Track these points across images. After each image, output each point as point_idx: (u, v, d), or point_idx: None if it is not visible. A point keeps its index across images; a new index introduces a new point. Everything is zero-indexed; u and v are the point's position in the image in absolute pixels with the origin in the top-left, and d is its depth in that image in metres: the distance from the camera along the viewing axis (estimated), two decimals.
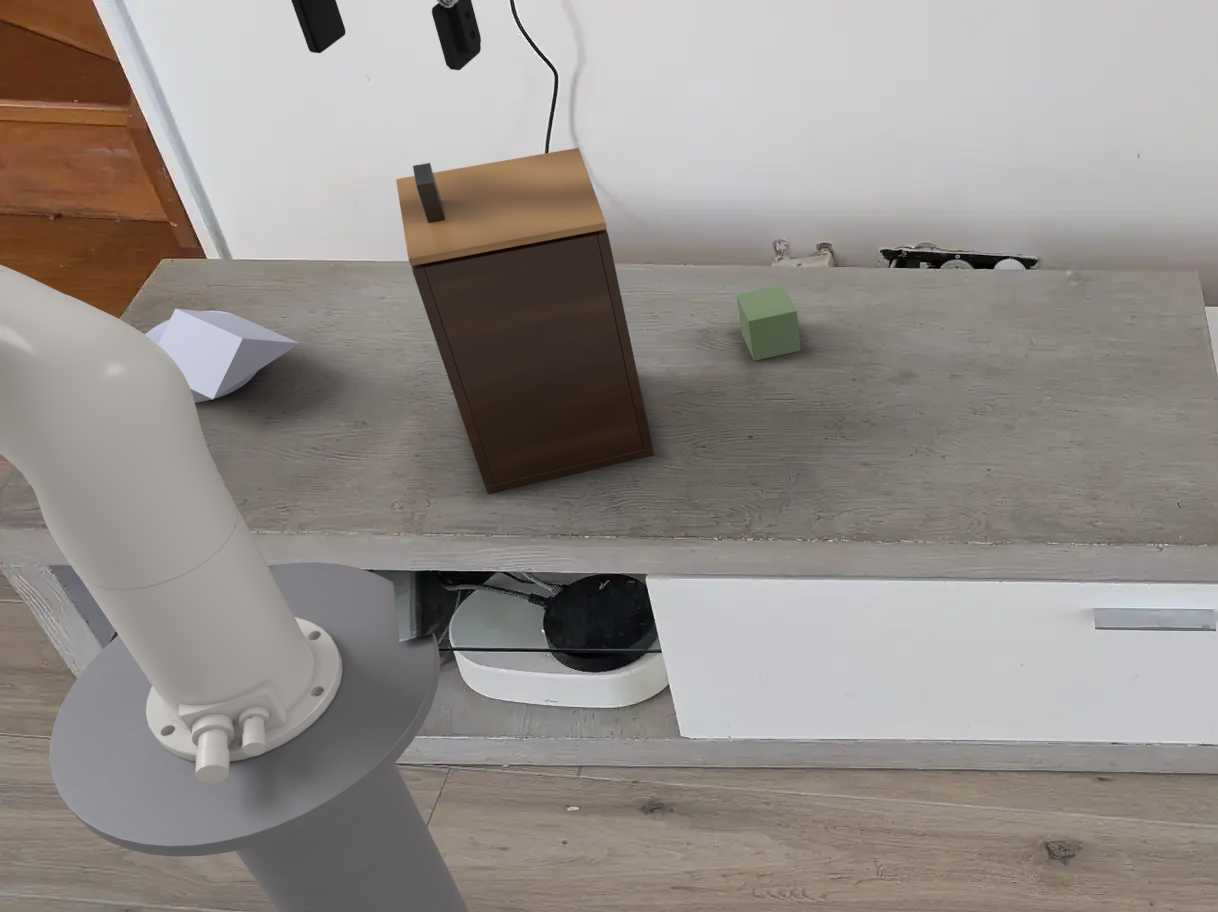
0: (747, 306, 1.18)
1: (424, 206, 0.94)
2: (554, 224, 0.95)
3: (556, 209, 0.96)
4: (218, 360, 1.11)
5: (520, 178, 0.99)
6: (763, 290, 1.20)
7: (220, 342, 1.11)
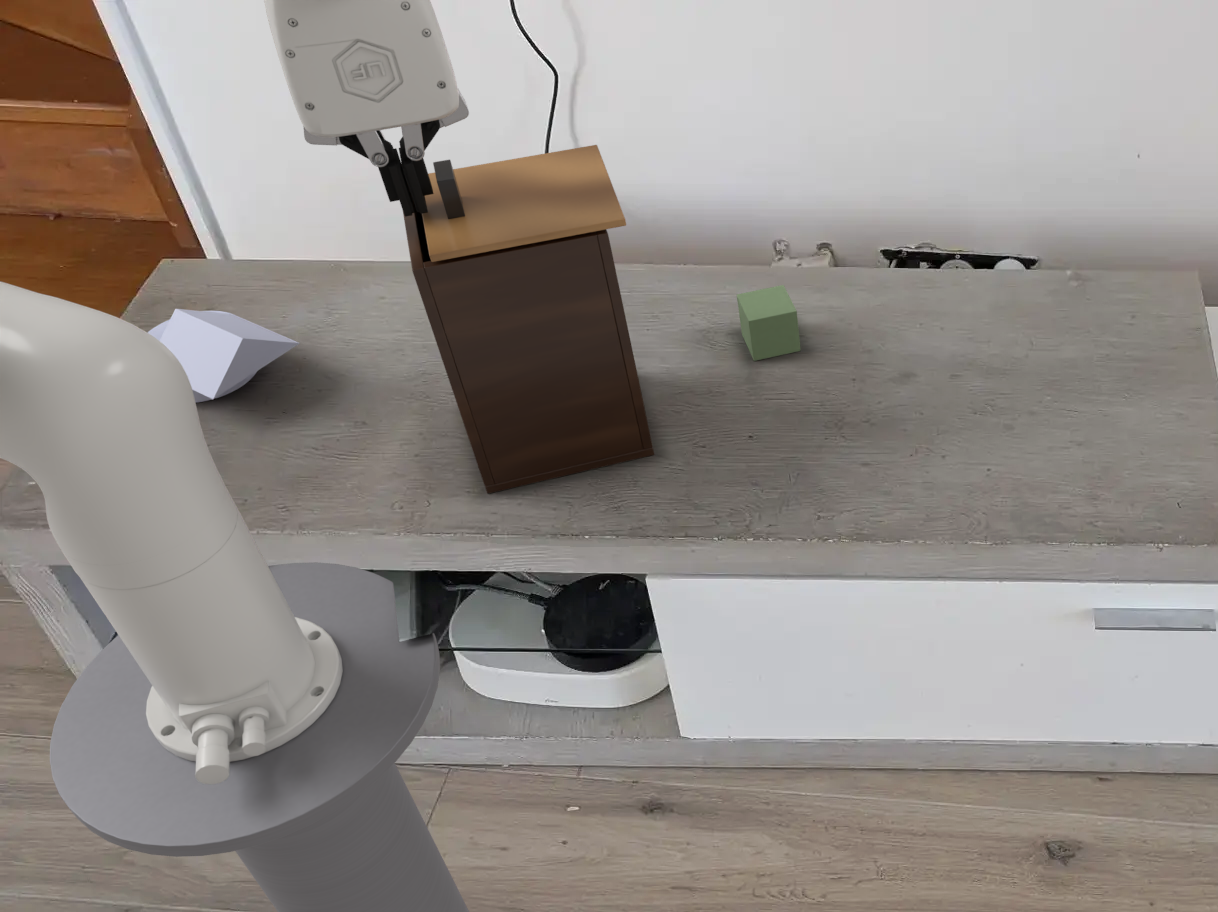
0: (747, 306, 1.18)
1: (444, 202, 0.94)
2: (574, 220, 0.95)
3: (575, 205, 0.97)
4: (218, 360, 1.11)
5: (539, 175, 1.00)
6: (763, 290, 1.20)
7: (220, 342, 1.11)
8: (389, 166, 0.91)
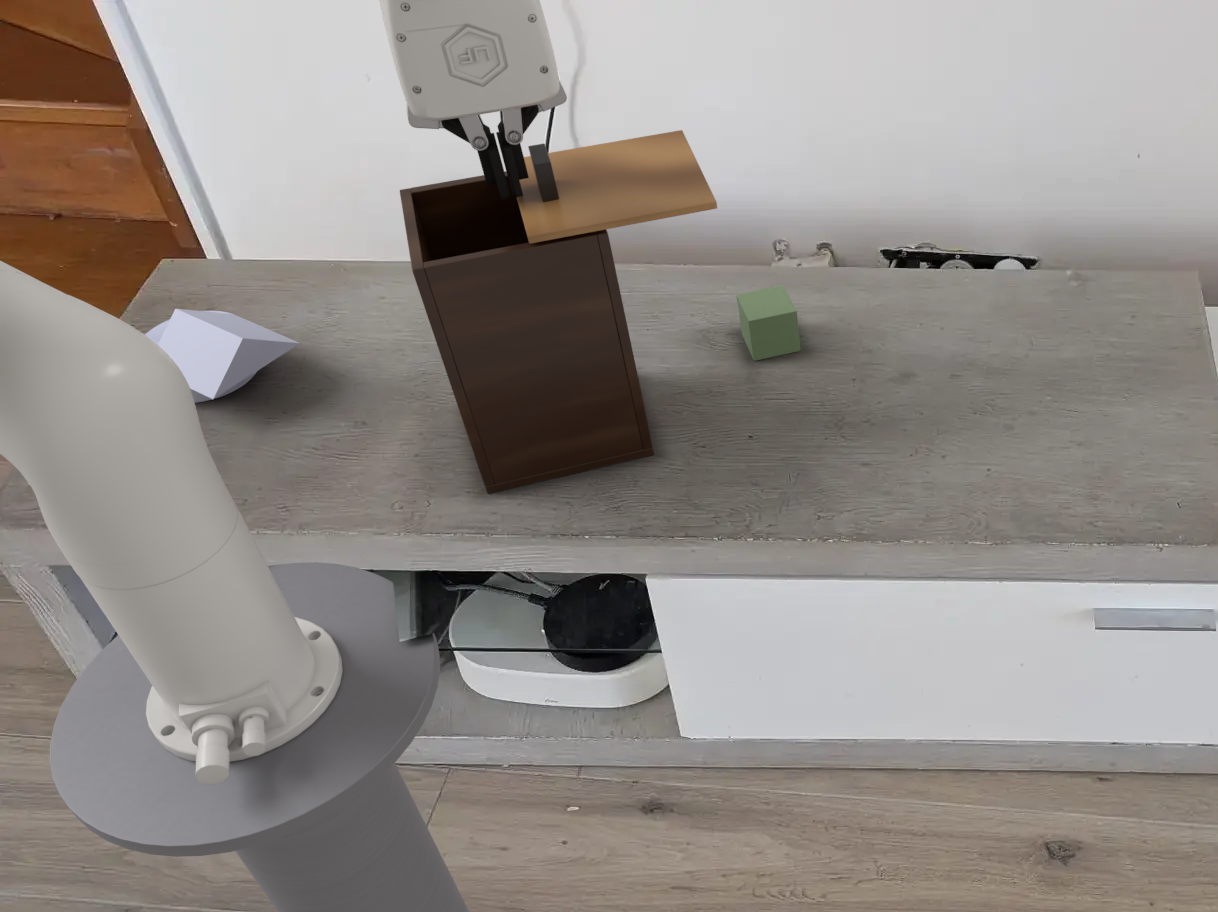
0: (747, 306, 1.18)
1: (540, 185, 0.96)
2: (666, 203, 0.97)
3: (667, 189, 0.98)
4: (218, 360, 1.11)
5: (628, 159, 1.01)
6: (763, 290, 1.20)
7: (220, 342, 1.11)
8: (488, 150, 0.93)
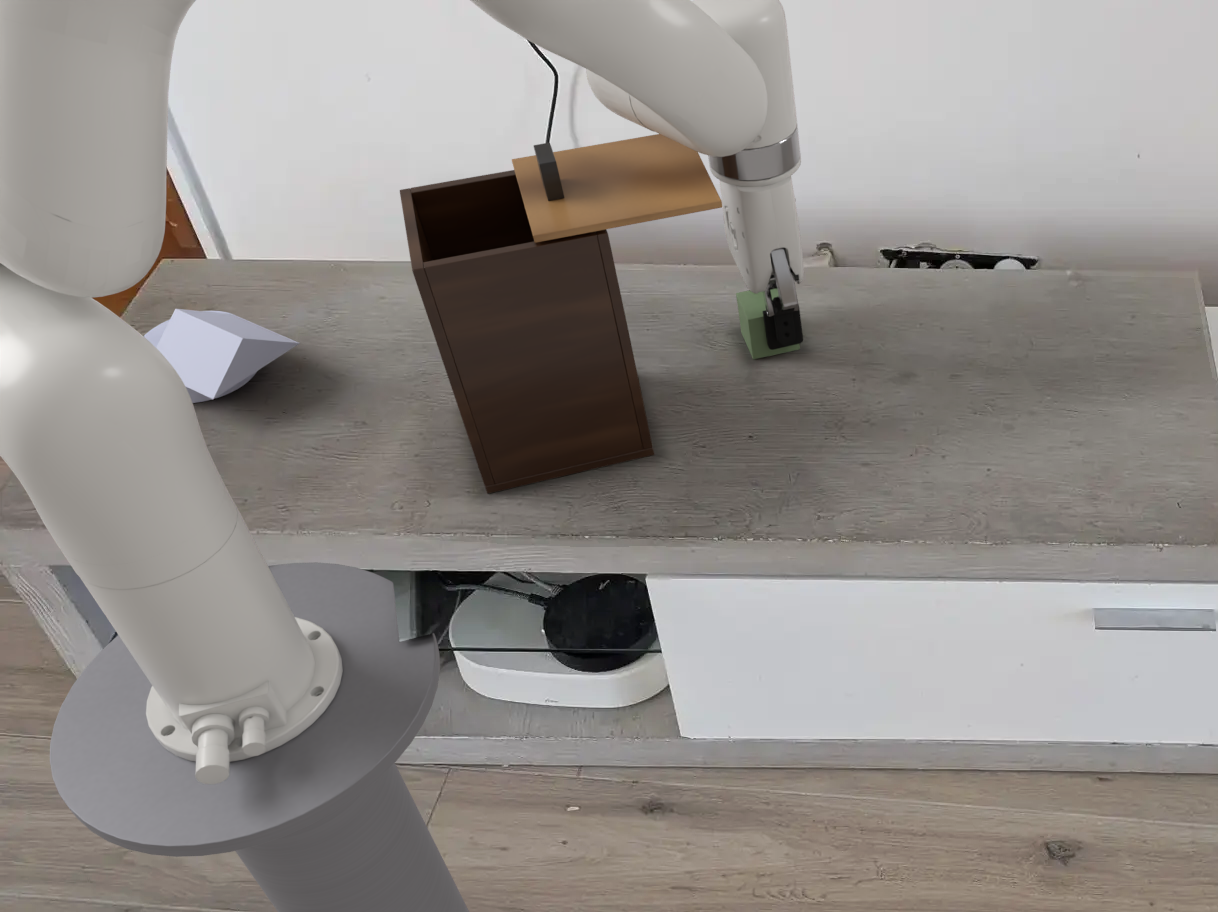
0: (746, 304, 1.18)
1: (545, 184, 0.96)
2: (671, 202, 0.97)
3: (672, 188, 0.98)
4: (218, 360, 1.11)
5: (633, 158, 1.01)
6: None
7: (220, 342, 1.11)
8: None
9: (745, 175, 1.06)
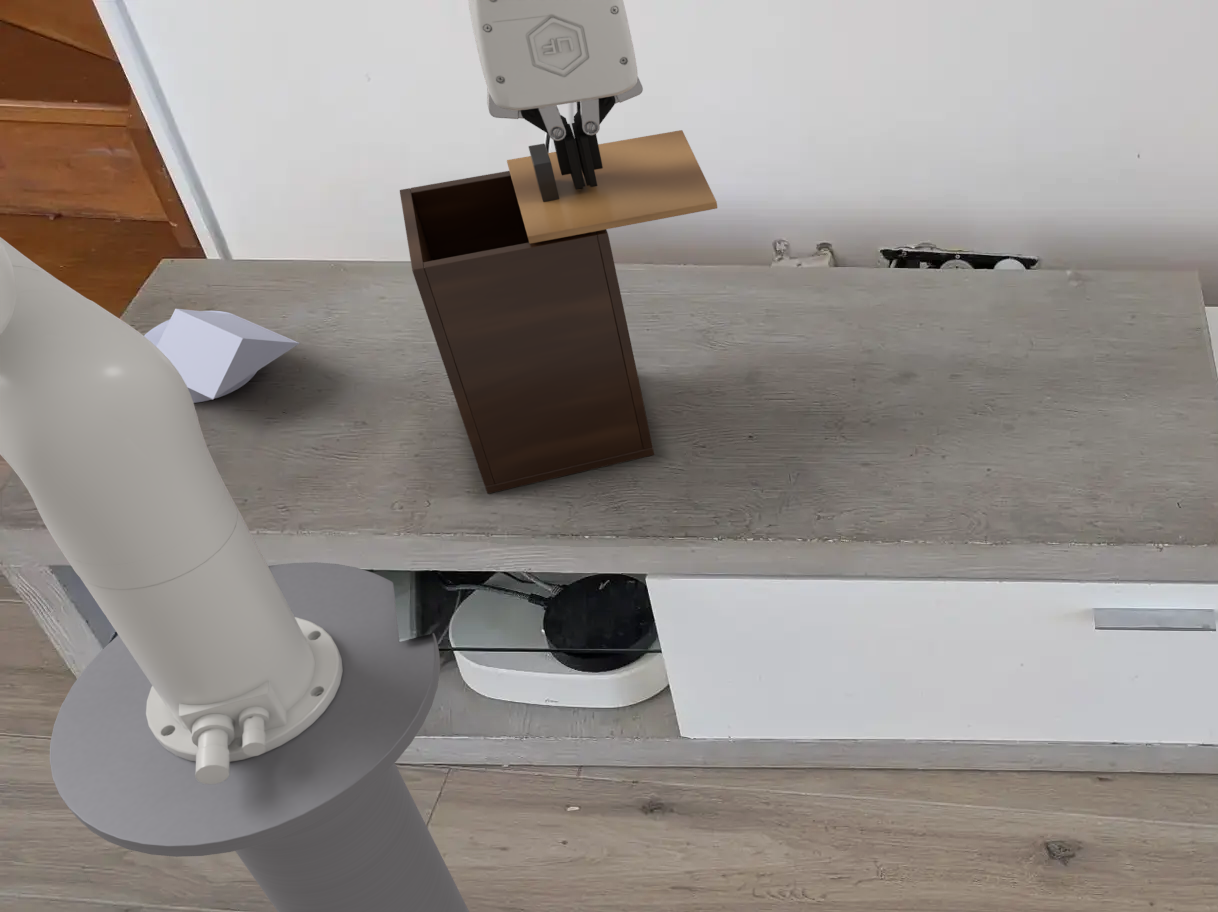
0: None
1: (540, 185, 0.96)
2: (666, 203, 0.97)
3: (667, 189, 0.98)
4: (218, 360, 1.11)
5: (628, 159, 1.01)
6: None
7: (220, 342, 1.11)
8: (566, 140, 0.94)
9: None
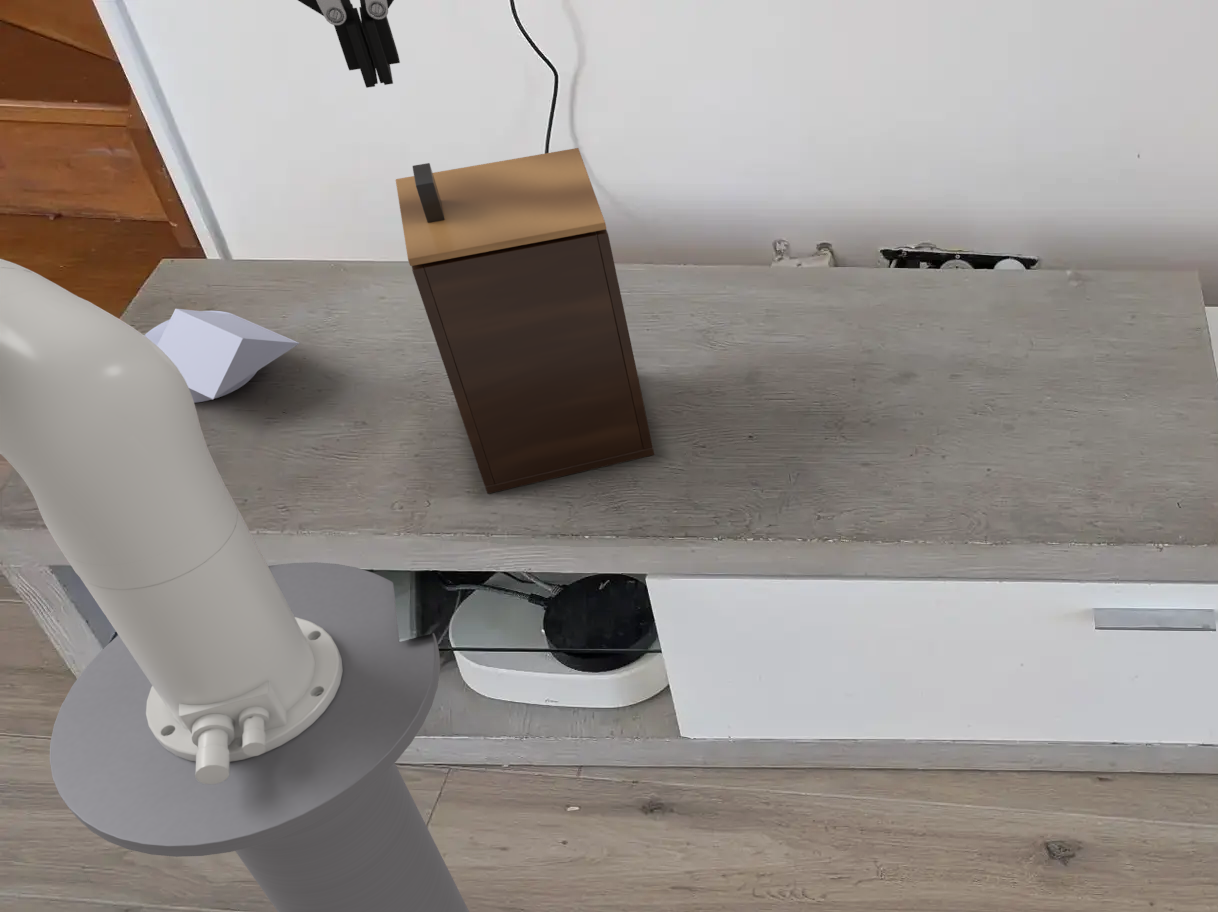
0: None
1: (423, 206, 0.94)
2: (554, 224, 0.95)
3: (556, 209, 0.96)
4: (218, 359, 1.11)
5: (519, 178, 0.99)
6: None
7: (220, 342, 1.11)
8: (347, 24, 0.79)
9: None
